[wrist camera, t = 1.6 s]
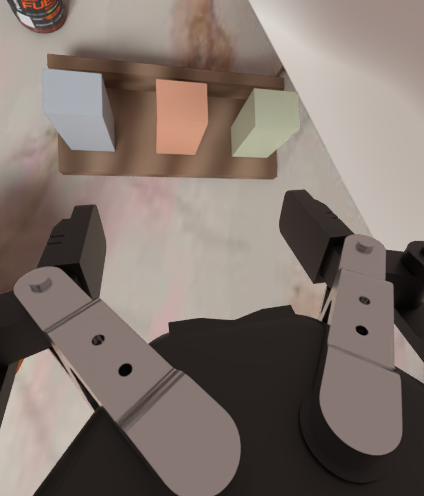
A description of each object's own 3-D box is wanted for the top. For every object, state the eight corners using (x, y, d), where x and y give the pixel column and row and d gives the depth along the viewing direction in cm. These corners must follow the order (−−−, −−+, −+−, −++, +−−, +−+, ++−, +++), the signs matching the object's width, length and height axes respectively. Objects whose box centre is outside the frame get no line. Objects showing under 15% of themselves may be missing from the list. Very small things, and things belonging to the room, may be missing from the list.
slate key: (71, 149, 34) (43, 112, 25) (70, 117, 34) (42, 68, 25) (115, 151, 35) (102, 116, 26) (114, 119, 35) (101, 73, 26)
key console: (62, 174, 35) (49, 162, 31) (60, 77, 36) (47, 51, 31) (272, 179, 41) (287, 169, 36) (269, 95, 41) (283, 75, 37)
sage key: (231, 156, 38) (255, 126, 29) (230, 127, 38) (254, 88, 29) (266, 157, 39) (299, 129, 30) (265, 129, 39) (298, 92, 30)
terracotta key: (156, 153, 36) (157, 119, 27) (155, 122, 36) (156, 78, 27) (195, 154, 37) (208, 123, 28) (194, 124, 37) (206, 83, 28)
